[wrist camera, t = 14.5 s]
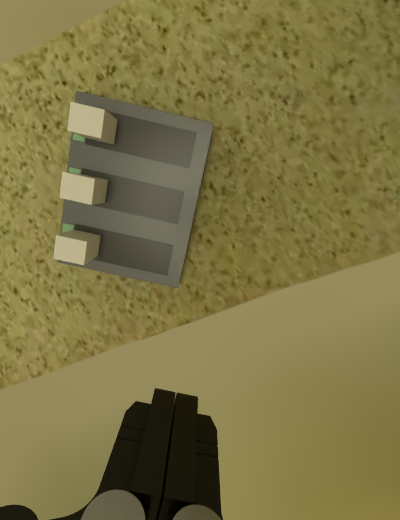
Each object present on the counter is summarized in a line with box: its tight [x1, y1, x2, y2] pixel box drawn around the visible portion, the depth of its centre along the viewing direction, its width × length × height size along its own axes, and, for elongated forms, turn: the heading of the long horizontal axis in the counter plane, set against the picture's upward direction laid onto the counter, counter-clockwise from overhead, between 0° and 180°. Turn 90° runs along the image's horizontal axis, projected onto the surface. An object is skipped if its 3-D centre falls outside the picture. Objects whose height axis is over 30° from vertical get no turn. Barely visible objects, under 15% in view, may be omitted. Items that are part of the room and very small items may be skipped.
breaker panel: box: [57, 91, 214, 288], centre depth 33 cm, size 14×18×3 cm
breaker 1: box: [67, 102, 117, 144], centre depth 28 cm, size 3×2×4 cm
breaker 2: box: [54, 229, 101, 265], centre depth 31 cm, size 3×2×4 cm
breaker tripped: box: [60, 172, 108, 205], centre depth 30 cm, size 3×2×4 cm
